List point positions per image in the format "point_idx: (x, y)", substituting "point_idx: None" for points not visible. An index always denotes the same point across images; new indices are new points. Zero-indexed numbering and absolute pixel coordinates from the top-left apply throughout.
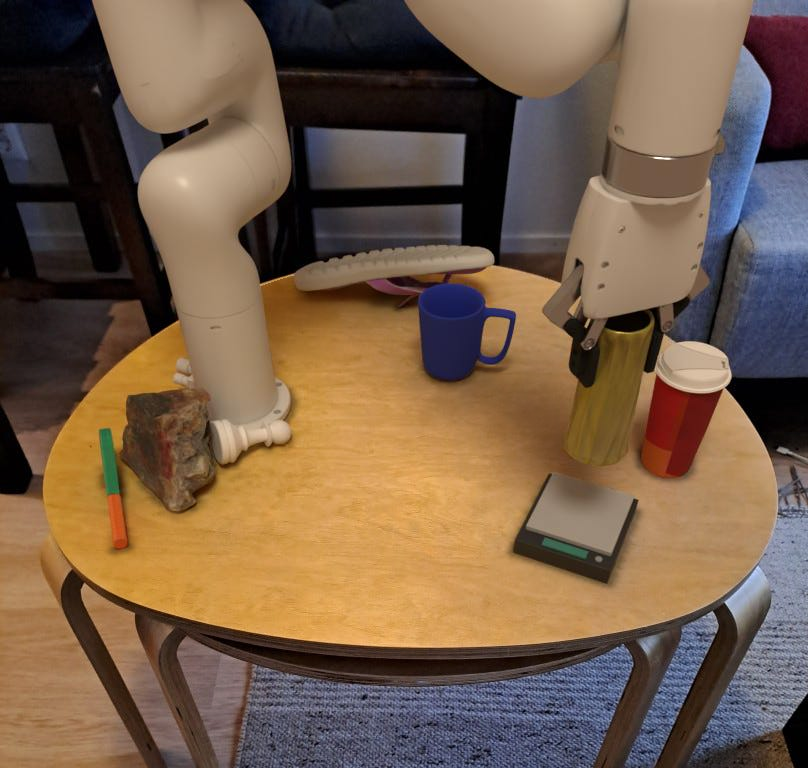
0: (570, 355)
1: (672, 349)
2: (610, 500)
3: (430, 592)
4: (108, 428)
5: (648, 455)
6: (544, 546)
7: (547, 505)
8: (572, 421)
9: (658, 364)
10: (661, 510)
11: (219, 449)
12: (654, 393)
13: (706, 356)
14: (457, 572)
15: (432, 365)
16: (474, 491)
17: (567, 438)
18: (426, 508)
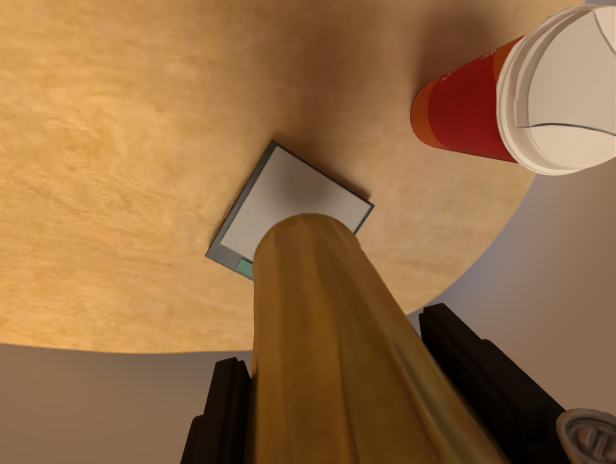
0: (184, 455)
1: (571, 38)
2: (337, 212)
3: (106, 295)
4: None
5: (419, 124)
6: (239, 269)
7: (254, 212)
8: (254, 300)
9: (515, 67)
10: (400, 200)
11: None
12: (472, 94)
13: None
14: (139, 270)
15: None
16: (169, 136)
17: (255, 273)
18: (98, 161)
